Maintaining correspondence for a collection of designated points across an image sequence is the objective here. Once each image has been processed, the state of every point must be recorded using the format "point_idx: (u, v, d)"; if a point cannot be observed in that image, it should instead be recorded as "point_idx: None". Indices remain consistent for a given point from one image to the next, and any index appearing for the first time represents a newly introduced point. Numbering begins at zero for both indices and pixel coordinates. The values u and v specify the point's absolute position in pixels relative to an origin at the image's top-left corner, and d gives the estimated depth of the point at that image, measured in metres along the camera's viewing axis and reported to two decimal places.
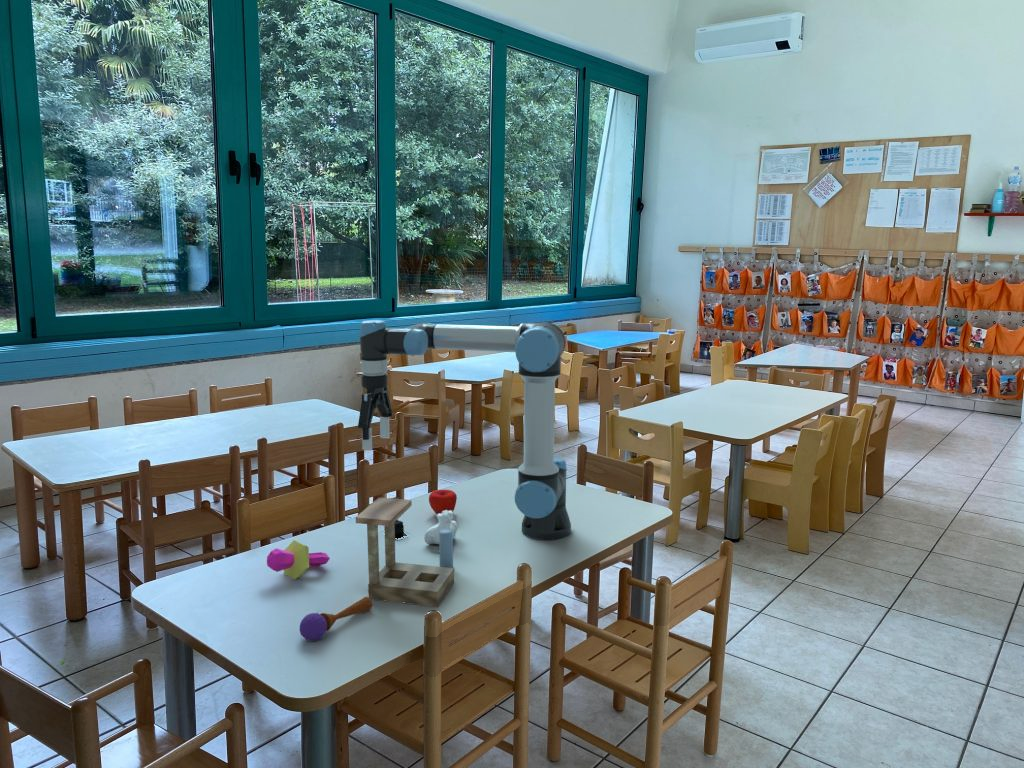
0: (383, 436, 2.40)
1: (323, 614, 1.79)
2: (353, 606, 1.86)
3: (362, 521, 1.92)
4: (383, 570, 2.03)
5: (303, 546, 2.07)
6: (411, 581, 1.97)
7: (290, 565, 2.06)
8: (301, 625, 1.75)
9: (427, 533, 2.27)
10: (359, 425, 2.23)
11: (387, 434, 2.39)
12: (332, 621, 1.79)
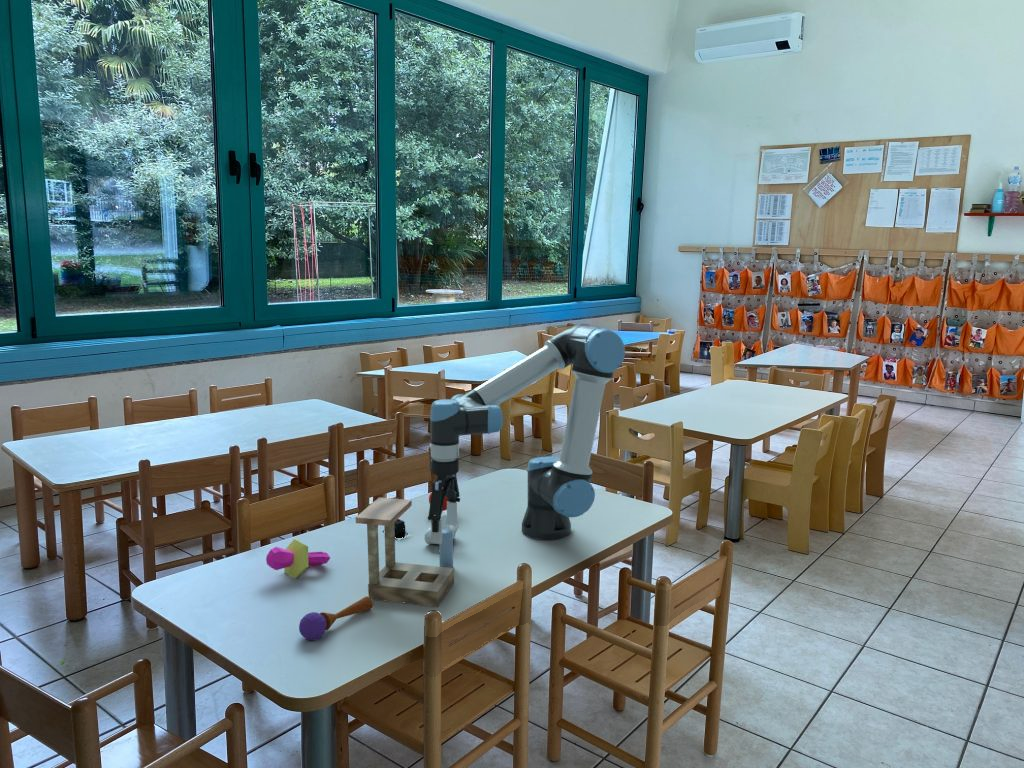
0: (449, 523, 2.19)
1: (323, 613, 1.80)
2: (353, 606, 1.87)
3: (362, 521, 1.92)
4: (383, 570, 2.03)
5: (303, 545, 2.07)
6: (411, 581, 1.97)
7: (290, 564, 2.07)
8: (300, 624, 1.76)
9: (427, 533, 2.27)
10: (429, 517, 2.02)
11: (454, 521, 2.19)
12: (332, 620, 1.80)
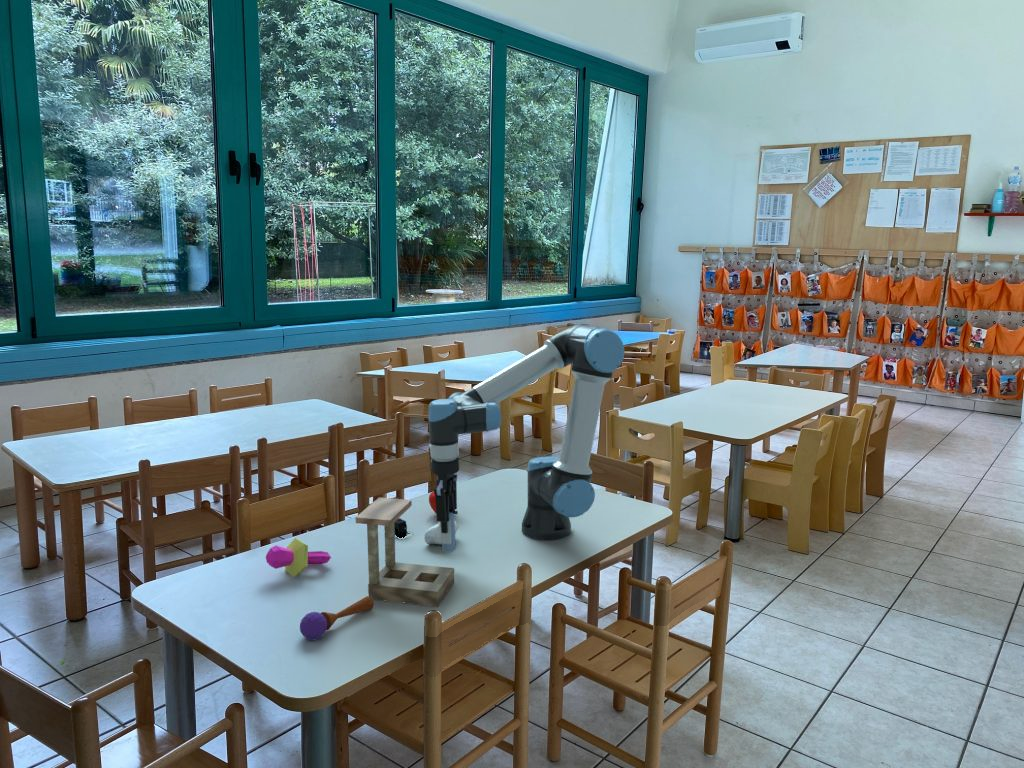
0: None
1: (323, 613, 1.80)
2: (354, 605, 1.87)
3: (362, 521, 1.92)
4: (383, 570, 2.03)
5: (302, 544, 2.08)
6: (411, 581, 1.97)
7: (290, 563, 2.08)
8: (301, 623, 1.76)
9: (427, 533, 2.27)
10: (438, 520, 2.08)
11: None
12: (332, 620, 1.80)
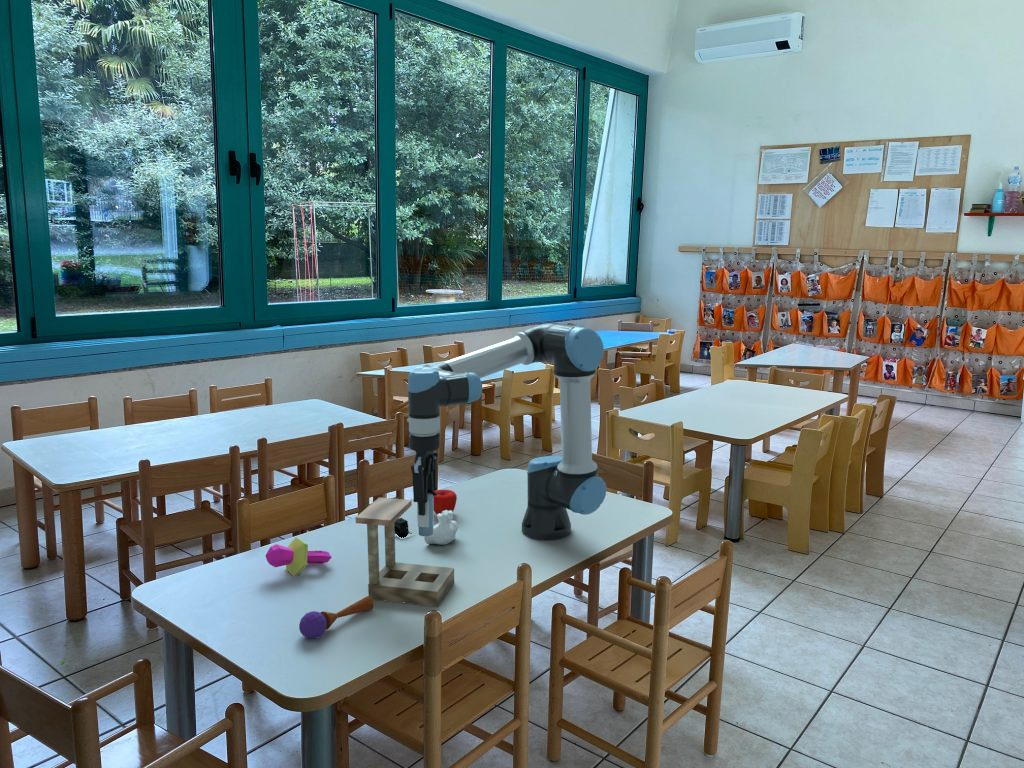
0: None
1: (323, 612, 1.80)
2: (354, 605, 1.87)
3: (362, 521, 1.92)
4: (383, 570, 2.03)
5: (302, 543, 2.08)
6: (411, 581, 1.97)
7: (290, 561, 2.08)
8: (300, 622, 1.76)
9: None
10: (415, 500, 1.90)
11: None
12: (332, 620, 1.80)
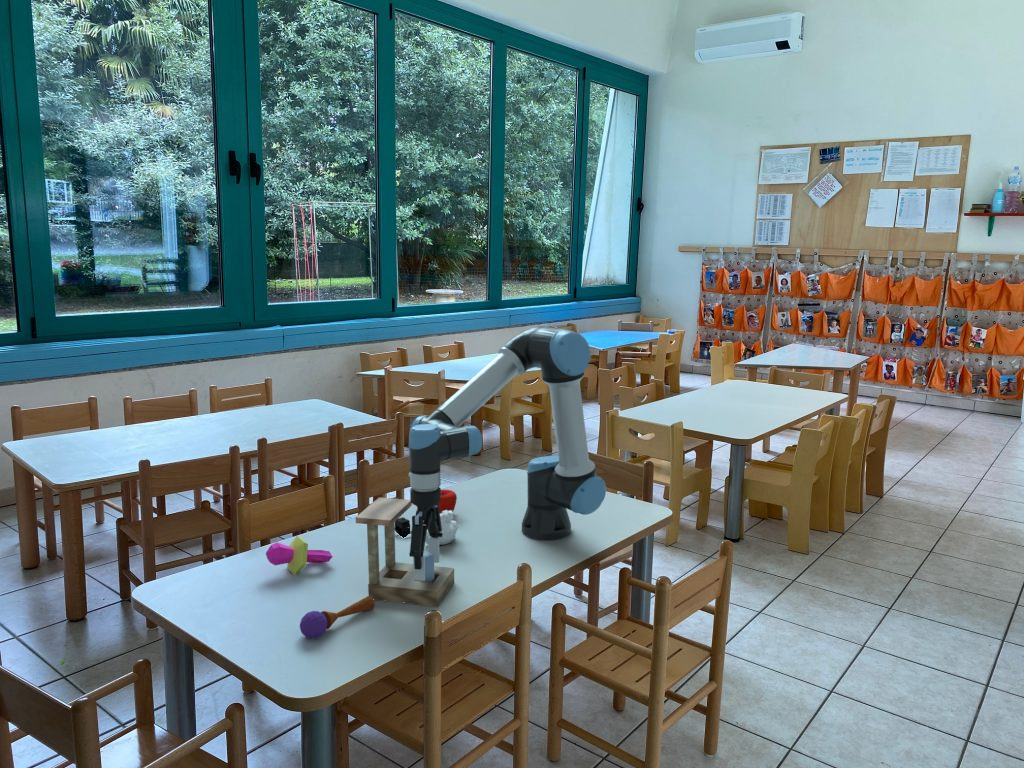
0: None
1: (324, 612, 1.80)
2: (355, 605, 1.87)
3: (362, 521, 1.92)
4: (383, 570, 2.03)
5: (302, 542, 2.09)
6: (411, 581, 1.97)
7: (290, 560, 2.09)
8: (301, 622, 1.76)
9: (427, 533, 2.27)
10: (411, 554, 1.89)
11: (437, 557, 2.03)
12: (333, 619, 1.80)
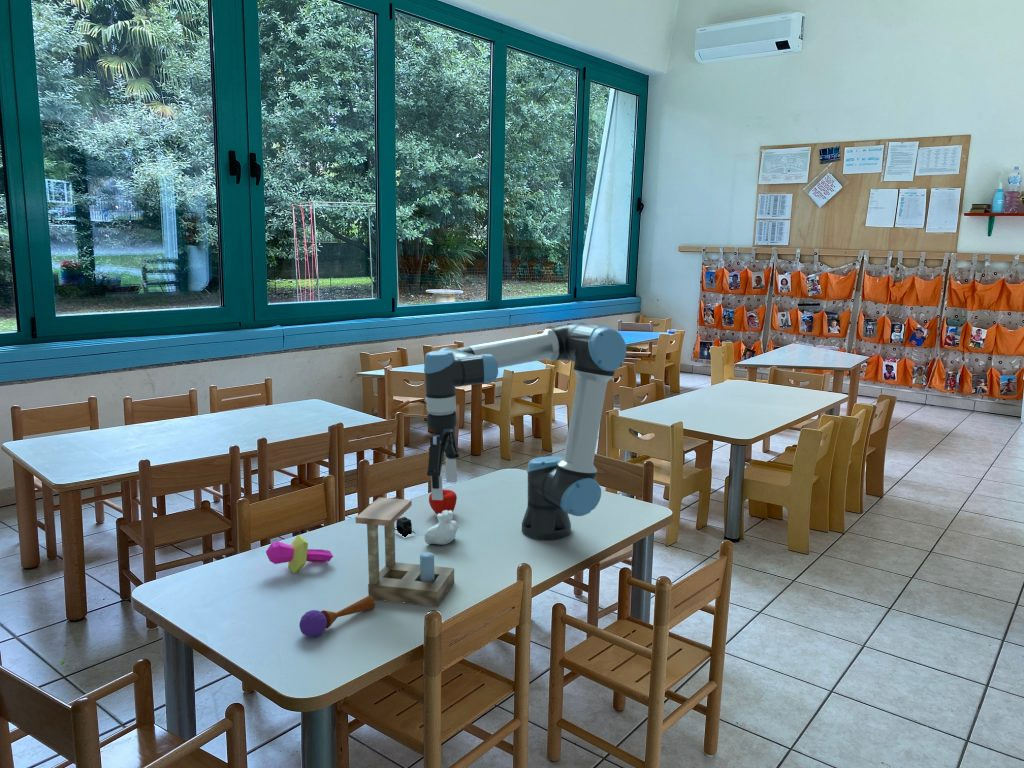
0: (449, 480, 2.12)
1: (324, 611, 1.81)
2: (355, 604, 1.87)
3: (362, 521, 1.92)
4: (383, 570, 2.03)
5: (302, 542, 2.10)
6: (411, 581, 1.97)
7: (290, 559, 2.10)
8: (300, 621, 1.77)
9: (427, 533, 2.27)
10: (429, 473, 1.94)
11: (454, 478, 2.11)
12: (332, 619, 1.80)
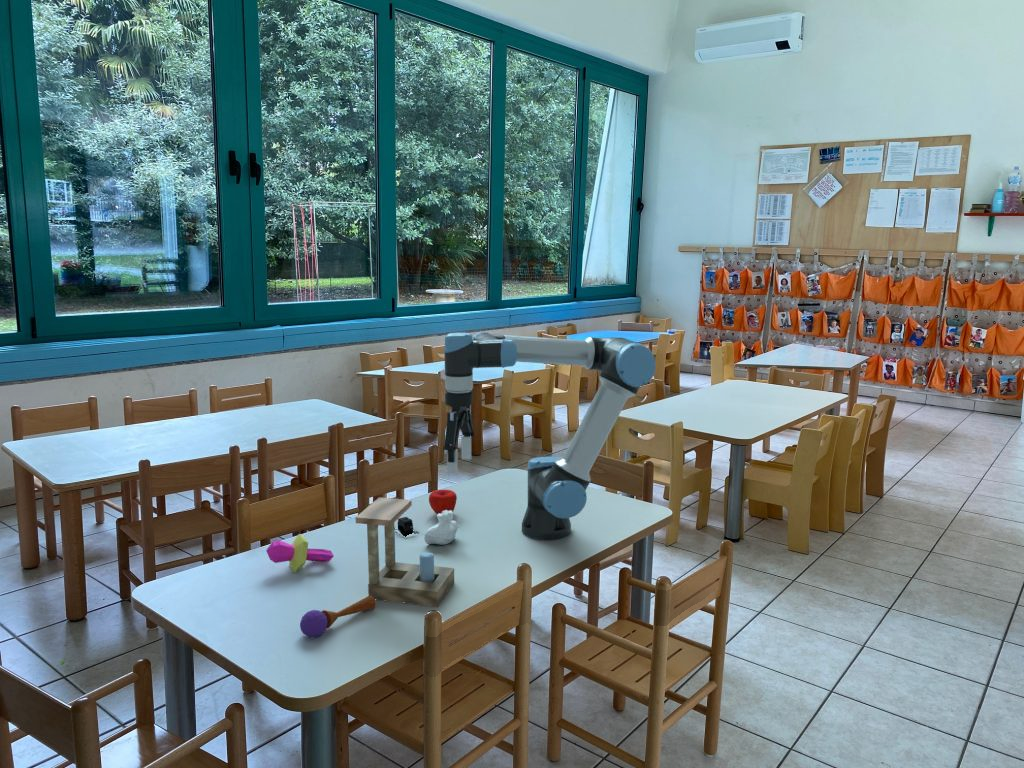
0: (464, 457, 2.23)
1: (324, 611, 1.81)
2: (356, 604, 1.87)
3: (362, 521, 1.92)
4: (383, 570, 2.03)
5: (302, 541, 2.10)
6: (411, 581, 1.97)
7: (290, 558, 2.10)
8: (301, 621, 1.77)
9: (427, 533, 2.27)
10: (445, 447, 2.05)
11: (469, 455, 2.22)
12: (333, 619, 1.80)
